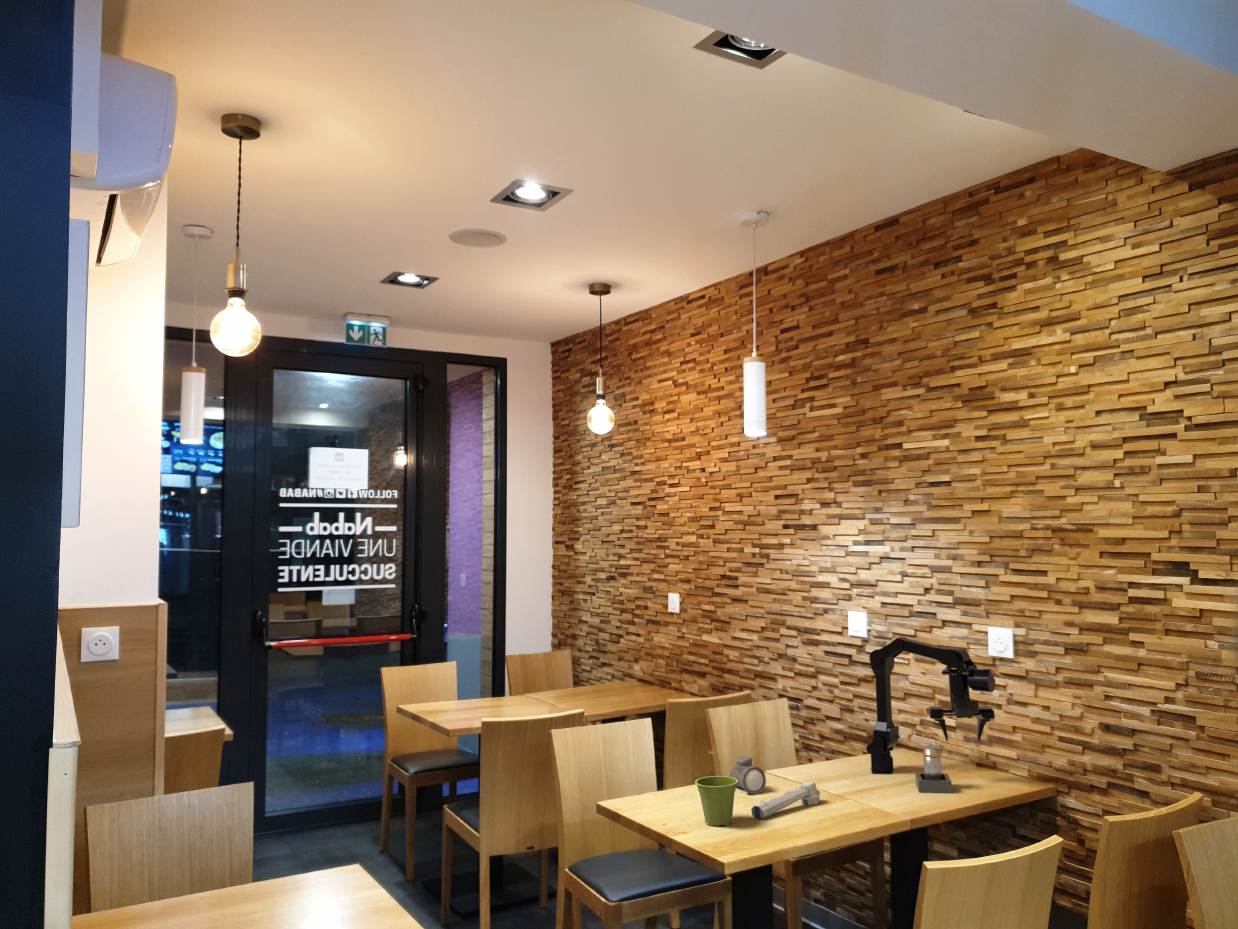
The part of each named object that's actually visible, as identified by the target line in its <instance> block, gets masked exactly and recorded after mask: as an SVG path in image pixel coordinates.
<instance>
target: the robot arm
mask: <svg viewBox="0 0 1238 929" xmlns="http://www.w3.org/2000/svg"><path fill="white" fill-rule="evenodd" d="M903 652H905V653H910V654H915V655H917V656H922V657H924V658H930V659H933V660H936V661H937V662H939V663H941V664H942V665H943V666H946V667H945V668H944V669H943V670H942V671H941V675H947V676H948V685H949V686H948V687H949V699H950V708H946V709H945V708H943V707H942V706H938V705H937V706H931V705H930V706H928V709H927V710H928V716H929V719H933V720H934V721H935V722H938V724H939V726H940V728H941V730H942V733H943V736H944V738H945V741H946V742H949V735H948V731H947V724H946V719H945V718H944V716H953V717H955V718H957V719H962V718H964V719H965V718H967V719H973V716H974V717H975V716H976V717H977V721H976V722H977V723H976V725H977V726H976V735H977V736H976V738H977V741H978V742H980V741H981V737H982V734H983V731H984V728H985V725H986V724H987V722H991V720H992V719H993V720H994V719H995V717H996V715H995V710H994V709H993V708H992V707H991V706H982V705H981V706H980V704H979V700H972V701H971V699H970V698H971V696H970V689H971V690H972V691H973V692H984V693H985V692H986V693H988V692H989V693H994V691H995V688H996V679H995V676H994V674H993V673H992V669H991V668H978V666H977V665H976V664H975V663H974V661H973V660H972V659H971V656H970V654H969V652H968V650H967V649H966V648H964V647H961V646H960V647H957V646H939V645H935V644H930V643H926V642H923V641H919V640H914V639H910V638H907V637H905V636H901V637H897V638H895V639H894V640H893V641H890V643H888V644H886V645H884V646H883V647H881V648H877V649H874V650H872V651H871V652H870V653H869V657H868V658H869V659H868V660H869V662H870V663H869V664H870V668H871V670H872V673H873V674H874V678H875V700H876V705H875V706H876V723H875V725H874V728H873V733H872V740H871V741H870V743H868V745H867V746H866V747H865V750H866V752H867V754H869V755H870V770H871V774H885V775H889V774H890V775H891V774H893V771H894V759H893V756H892V753H891V752H893V750H894V748H895V746H896V745H897V744H898V742H899V739H900V738H901V737H900V734H899V733H900V732H899V731H900V726H899V725H895V723H894V722H893V713H892V688H891V685H892V684H891V675H892V673H893V669H894V666H895V658H897V657H898V656H900V655H901V654H902V653H903Z"/></svg>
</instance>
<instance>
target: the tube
mask: <svg viewBox="0 0 1238 929" xmlns="http://www.w3.org/2000/svg"><path fill="white" fill-rule="evenodd" d="M922 749H923V750H922V756H923V773H924V778H925V780H942V773H943V772H942V752H941V747H938V746H934V745H933V746H931V745H928V746H926V745H925V746H923V747H922Z"/></svg>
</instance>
